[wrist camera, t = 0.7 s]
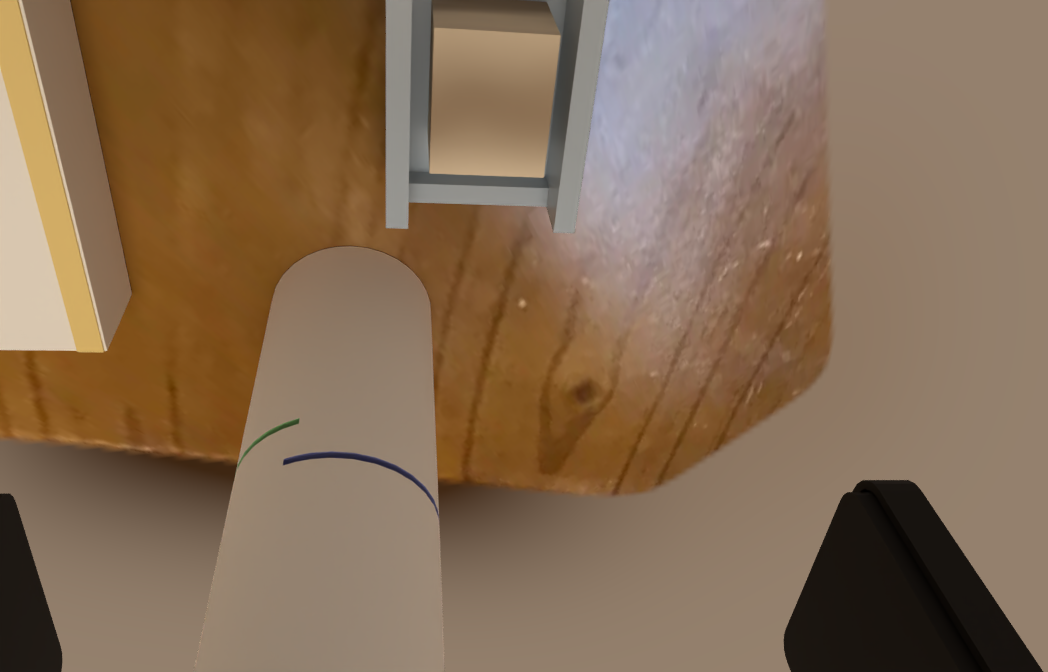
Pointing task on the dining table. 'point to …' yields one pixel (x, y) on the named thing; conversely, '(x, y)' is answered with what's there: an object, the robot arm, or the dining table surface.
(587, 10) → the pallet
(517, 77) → the tan block
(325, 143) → the dining table surface
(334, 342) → the cylindrical container
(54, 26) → the dock
